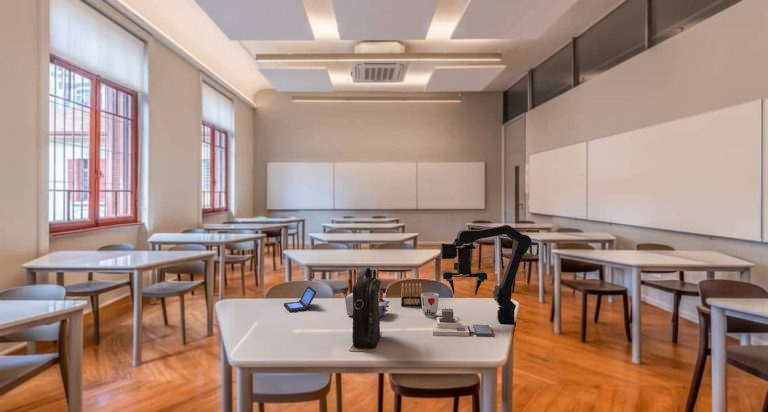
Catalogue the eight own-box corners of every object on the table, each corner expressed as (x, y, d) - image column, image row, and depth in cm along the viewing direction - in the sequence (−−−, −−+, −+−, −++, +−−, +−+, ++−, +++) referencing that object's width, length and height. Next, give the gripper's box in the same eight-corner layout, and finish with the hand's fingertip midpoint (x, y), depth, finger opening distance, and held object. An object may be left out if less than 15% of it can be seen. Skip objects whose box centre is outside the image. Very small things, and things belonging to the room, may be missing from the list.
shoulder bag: (360, 331, 167) (360, 262, 166) (382, 332, 166) (382, 263, 165) (348, 351, 144) (348, 272, 144) (374, 352, 143) (373, 272, 143)
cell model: (349, 288, 198) (390, 290, 195) (349, 311, 198) (390, 313, 195) (343, 294, 185) (387, 296, 182) (342, 318, 185) (386, 321, 182)
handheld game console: (283, 305, 209) (282, 287, 209) (308, 303, 215) (308, 285, 215) (289, 313, 195) (289, 294, 195) (316, 310, 201) (316, 291, 201)
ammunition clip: (401, 306, 206) (400, 282, 205) (401, 305, 207) (401, 282, 207) (422, 306, 205) (422, 283, 205) (422, 306, 206) (422, 282, 206)
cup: (418, 317, 186) (418, 295, 186) (425, 312, 194) (425, 291, 194) (435, 319, 183) (435, 297, 183) (441, 314, 190) (441, 293, 190)
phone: (488, 327, 171) (488, 324, 171) (493, 336, 159) (493, 333, 159) (473, 326, 171) (473, 324, 171) (476, 336, 159) (476, 333, 159)
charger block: (452, 323, 171) (452, 306, 171) (453, 326, 167) (453, 308, 167) (441, 322, 172) (441, 305, 171) (442, 326, 167) (442, 308, 167)
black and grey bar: (475, 333, 163) (475, 331, 163) (476, 334, 162) (475, 332, 162) (468, 333, 163) (468, 330, 163) (468, 334, 162) (468, 331, 162)
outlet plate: (465, 325, 174) (465, 317, 174) (469, 336, 160) (469, 327, 160) (432, 324, 175) (432, 316, 175) (433, 335, 161) (433, 326, 161)
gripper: (483, 256, 184) (484, 291, 185) (442, 256, 186) (442, 290, 187) (487, 260, 173) (487, 297, 174) (443, 259, 175) (443, 296, 175)
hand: (464, 294), depth 178 cm, fingers open, 9 cm apart
